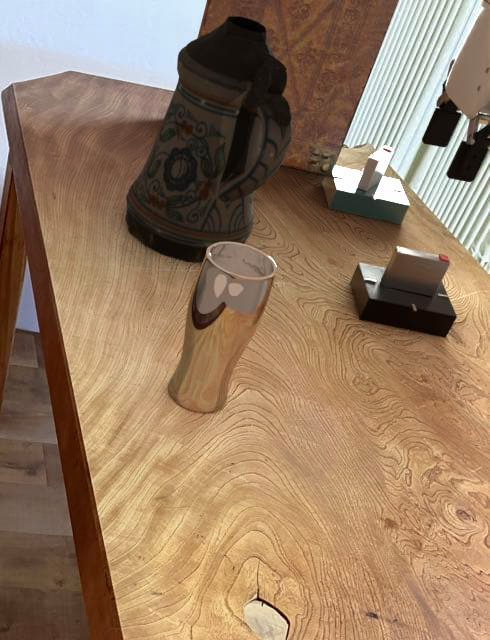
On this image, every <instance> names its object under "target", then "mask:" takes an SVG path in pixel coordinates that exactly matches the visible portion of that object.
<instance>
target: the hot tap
mask: <svg viewBox="0 0 490 640" xmlns="http://www.w3.org/2000/svg"><path fill="white" fill-rule="evenodd" d="M394 247H395V248H394V249H393V252H392V254H391V256H390V259H389V261H388V262H387V265H386V267H385V268H386V269H385V271H384V274H383V276H382V278H381V282H382V285H383V286H385V287H390V288H395V289H399V290H404V291H409V292H413V293H418V294H423V295H427V296H432V297H433V296H434V295H435V293H436V291H437V289H438V287H439V285H440V283H441V281H442V282H443V279H444V277H445V275H446V274H447V271H448V269H449V267H450V265H451V261H450V259H449V255H446V254H441V253H439V254H435V253H429V252H425V251H421V250H416V249H412V248H406V247H402V246H398V245H396V246H394Z"/></svg>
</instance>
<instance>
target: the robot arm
mask: <svg viewBox="0 0 490 640" xmlns="http://www.w3.org/2000/svg"><path fill="white" fill-rule="evenodd" d="M479 3H480V4H479V5H480V6H481V8H480V9H479V12H478V13H477V15H476V17H475V19H474V21H473V22H472V25H471V26H470V29H469V30H468V32H467V34H466V36H465V38H464V41H463V43H462V44H461V46H460V48H459V50H458V53H457V54H456V57H455V58H454V59H452V60H451V61H450V63H449V66H448V70H447V74H446V79H445V80H444V81H443V83H442V86H441V89H442V90H441V94H440V95H439V96H438V98H437V100H436V104H435V106H436V107H435V108H434V110H433V113H432V115H431V117H430V119H429V122H428V124H427V126H426V128H425V131H424V133H423V135H422V138H421V142H422V143H423V144H424V145H428V146H434V147H440V148H447V147H448V145H449V144H450V141H451V139H452V137H453V136H454V133H455V130H456V128H457V126H458V124H459V122H460V120H461V118H462V115H463V116H464V117H465V118H466V119H468V120H469V121H468V127H467V132H466V133H467V134H466V140H461V142H460V144H459V145H458V148H457V150H456V152H455V154H454V156H453V158H452V160H451V163H450V164H449V167H448V169H447V171H446V177H447V178H448V179H449V180H450V179H451V180H455V181H461V182H466V183H472V182H474V181H475V179H476V177H477V175H478V173H479V171H480V169H481V167H482V165H483V163H484V161H485V159H486V158H487V155H488V153H489V151H490V0H480V2H479ZM479 125H484V126H483V127H482V128H480V129H479Z"/></svg>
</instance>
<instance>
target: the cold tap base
mask: <svg viewBox="0 0 490 640" xmlns="http://www.w3.org/2000/svg"><path fill="white" fill-rule="evenodd" d="M363 170H364V168H362V171H360V170H357V169H351V168H347V167H343V166H338V165H335V166H334V165H329V167H328V170H327V172H326V175H324V178H323V181H322V184H321V185H322V187H323V190H324V195H325V198H326V202H327V206H328V209H329V210H333V211H337V212H342V213H347V214H351V215H355V216H359V217H365V218H369V219H374V220H378V221H383V222H386V223H387V222H388V223H392V224H396V225H402V223H403V221H404V220H405V217H406V215H407V212H408V210H409V208H410V206H411V205H410V203H409V200H408V198H407V195H406V194H405V193H406V192H405V190H404V188H403V185H402V184H401V181H400V179H396V178H392V177H387V176H383V178H382V180H381V181H380V182H379V183H377V184H376V185H375V186H373V187H372V188H370V189H369V190H368V191H364V190H361V189H359V188H357V185H358V182H359V180H360V177H361V175H362V172H363Z"/></svg>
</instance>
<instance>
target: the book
mask: <svg viewBox="0 0 490 640" xmlns="http://www.w3.org/2000/svg"><path fill="white" fill-rule="evenodd" d="M399 1H400V0H206V3H205V7H204V11H203V14H202V19H201V21H200V26H199V31H198V34H197V37H196V39H197V38H199V37H201V36H204V35H206V34H208V33H210V32H212V31H213V30H215V29H216V28H218V27H219V26H220V25H222V24H223V23H224V22H225V21H226V19H227V18H228V17H231V16H240V17H244V18H248V19H251V20H254V21H257V22H258V23H260V24H261V25H263V26H264V27H265V28H266V31H267V33H266V40H267V42H268V44H269V47H270V49H271V51H272V53H273V55H274V57H275V58H276V59H277V60H279V61H280V62H281V63H282V64H284V66H285V67H286V69H287V70H286V72H287V84H286V87H285V90H284V92H283V94H282V95H283V96H284V97H285V99H286V100H287V101H288V104H289V106H290V108H291V109H290V113H291V117H292V119H291V122H292V135H291V137H292V138H291V142H290V146H289V149H288V152H287V154H286V156H285V158H284V160H283V162H282V164H281V165H280V166H285V167H289V168H293V169H298V170H301V171H305V172H309V173H314V174H317V175H322V176H325V175H326V172H327V170H328V167H329V165H334V166H337V165H336V164H337V162H338V160H339V157H340V154H341V152H342V149H343V147H344V144H345V141H346V139H347V136H348V134H349V131H350V128H351V127H352V123H353V121H354V118H355V115H356V113H357V111H358V107H359V105H360V102H361V100H362V98H363V95H364V92H365V89H366V87H367V84H368V82H369V79H370V77H371V74H372V71H373V70H374V66H375V63H376V61H377V58H378V56H379V54H380V51H381V48H382V45H383V42H384V40H385V38H386V35H387V33H388V30H389V28H390V25H391V22H392V19H393V17H394V14H395V12H396V9H397V6H398V5H399Z"/></svg>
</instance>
